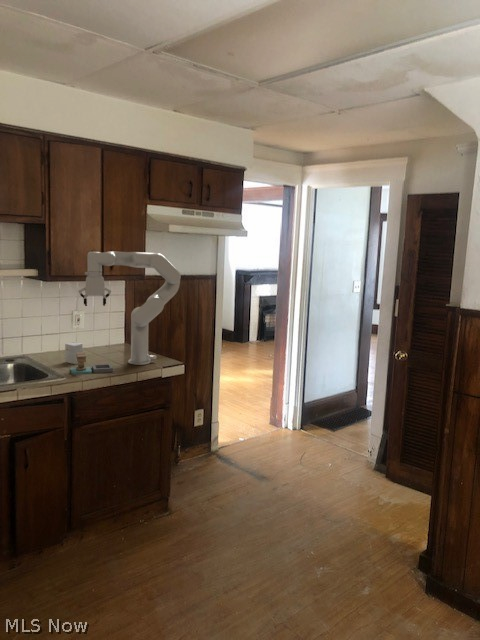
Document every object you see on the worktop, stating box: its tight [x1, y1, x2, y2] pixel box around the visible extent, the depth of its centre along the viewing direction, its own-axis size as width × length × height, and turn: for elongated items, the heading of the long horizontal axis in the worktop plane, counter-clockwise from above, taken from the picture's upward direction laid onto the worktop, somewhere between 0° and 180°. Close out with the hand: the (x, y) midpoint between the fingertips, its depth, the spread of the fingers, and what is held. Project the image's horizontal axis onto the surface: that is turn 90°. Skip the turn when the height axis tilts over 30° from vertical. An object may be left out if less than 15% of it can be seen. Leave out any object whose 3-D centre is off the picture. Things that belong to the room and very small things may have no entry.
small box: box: [64, 342, 84, 365], centre depth 295 cm, size 8×6×10 cm
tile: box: [69, 366, 93, 375], centre depth 278 cm, size 10×10×1 cm
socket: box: [91, 363, 115, 374], centre depth 282 cm, size 10×10×2 cm
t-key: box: [76, 352, 87, 371], centre depth 277 cm, size 9×5×8 cm, turn 21°
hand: (94, 305), depth 291 cm, fingers open, 9 cm apart
